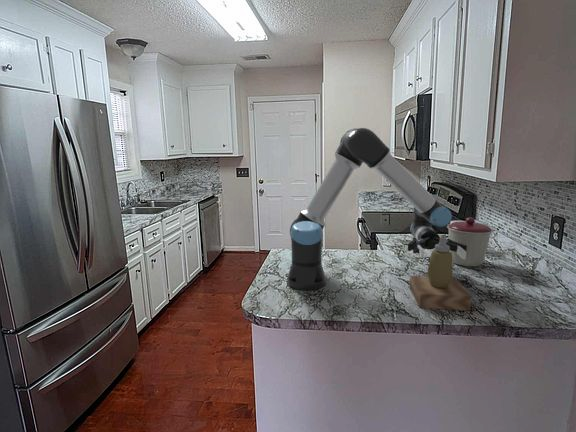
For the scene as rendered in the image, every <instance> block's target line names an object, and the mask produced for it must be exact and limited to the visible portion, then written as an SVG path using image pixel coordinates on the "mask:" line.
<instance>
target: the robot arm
mask: <svg viewBox="0 0 576 432" xmlns="http://www.w3.org/2000/svg"><path fill="white" fill-rule="evenodd" d="M334 156H335V159H334V161H333V163H332V164H331V166H330V168H329V170H328V172H327V174H326V175H325V176H324V178H323V180H322V182H321V183H320V185H319V187H318V188H317V190H316V192H315V194H314V195H313V197H312V199H311V201H310V202H309V204H308V206H307V207H306V209H304V210H301V211H300V213H299V214H298V216H297V217H296V219H294V220H293V222H292V223H291V224H290V227H289V228H290V229H289V235H290V240H291V241H290V242H291V265H290V267H289V271H288V274H287V278H286V279H287V280H286V281H287V285H288V286H289V287H291V288H292V289H295V290H299V291H315V290H319V289H321V288H323V287H325V286H326V284H327V282H326V281H327V278H326V274H325V270H324V267H323V263H322V259H323V257H322V255H323V254H322V251H323V249H322V248H323V242H322V241H323V229H324V227H325V226H326V223H325V221H326V220H325V218H326V217H327V216H328V214H329V212H330V210H331V209H332V207H333V206H334V204H335V202H336V201H337V199H338V197H339V195H340V194H341V192H342V190H343V189H344V187H345V185H346V183H347V182H348V181H349V179H350V178H351V176H352V174H353V172H354V170H357V169H359V168H361V166H362V164H363V163H364V165H366V166H367V167H368V169H371V170H372V169H374V170H375V171H376V172H378V174H379V175H380V176H381V177H382V178H384V179H385V180H386V182H388V183H389V184H390V186H392V187H393V188H394V189H395V190H396V191H397V192H398V193H399V194H400V195H401V196H402V197H403V198H404V199H405V200H406V201H408V202H409V204H410V205H411V206H412V207H413V218H412V224H411V225H410V229H409V230H410V233H411V235H412V239H411V240H410V241H409V243H407V251H409V252H411V251H412V253H413V254H416V255H417V254H418V256H419V257H420V259H424V256H425V255H424V254H425V250H435V245H436V244H439V241H440V238H441V236H440V235H439V234H438V233H437V232H436V231H435V229H433V227H432V226H436V227H438V228H441V227H443V228H444V227H445V226H446V227H447V226H448V225H449V224H450V223H451V221H452V217H453V216H452V212H451V210H450V209H448V208H447V207H446V206H444V205H442V204H441V203H440V202H439V201H438V200H437V199H436V198H435V197H434V195H432V194H431V193H430V192H429V191H428V190H427V189H426V188H425V187H424V186H423V185H422V184H421V183H420V182H419V181H418V180H417V179H416V178H415V177H414V176H413V175H412V174H411V173H410V172H409V171H408V170H407V169H406V168H405V167H404V166H403V165H402V164H401V163H400V162H399V161H398V160H397V159H396V158H395V157H394V156H393V155H392V154H391V150H390V148H389V147H388V146H387V145H386V144H385V143H384V142H383V141H382V140H381V138H380V137H378V135H377V134H376V133H375V132H374V131H373V130H371V129H369V128H366V127H360V128H359V127H358V128H352V129H349V130H347V131H345V132H344V134H343V135H342V137H341V138H340V141H339V145H338V146H337V149H336V150H335V152H334ZM446 244H447V245H449V246H450V250H451V251H454V252H457V254H458V255H459V256H460V257H461V258H462V259H464V260H465V259H466V252H467V246H466V245H464V244H461V243H458V242H455V241H452V240H450V239H449V238H446Z"/></svg>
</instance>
